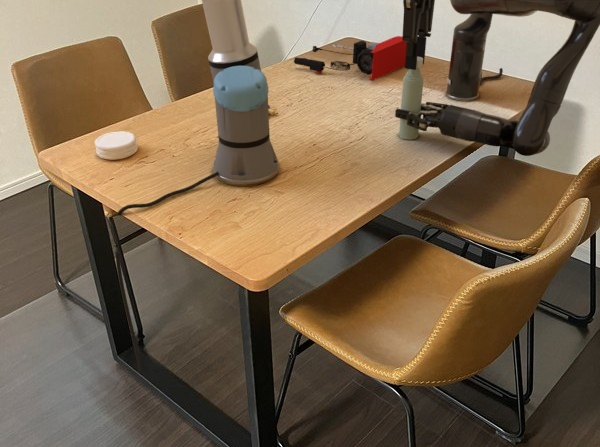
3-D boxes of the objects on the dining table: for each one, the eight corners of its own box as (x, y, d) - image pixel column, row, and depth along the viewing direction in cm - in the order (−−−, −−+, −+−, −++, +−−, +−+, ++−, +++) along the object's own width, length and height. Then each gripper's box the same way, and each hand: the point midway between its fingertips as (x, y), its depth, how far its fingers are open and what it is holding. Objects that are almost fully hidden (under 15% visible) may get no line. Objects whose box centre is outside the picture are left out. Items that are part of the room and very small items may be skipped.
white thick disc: (108, 164, 149) (105, 151, 148) (90, 151, 156) (87, 138, 154) (145, 152, 155) (143, 139, 153) (126, 139, 161) (123, 127, 159)
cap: (417, 62, 154) (418, 55, 153) (425, 67, 151) (426, 59, 150) (403, 64, 153) (404, 57, 152) (411, 68, 149) (411, 61, 149)
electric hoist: (292, 37, 203) (372, 52, 188) (336, 23, 221) (412, 36, 206) (292, 68, 208) (370, 85, 193) (335, 52, 226) (409, 66, 211)
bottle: (401, 140, 159) (407, 64, 149) (396, 132, 163) (402, 58, 153) (420, 139, 160) (427, 63, 149) (415, 131, 164) (422, 57, 153)
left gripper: (423, -44, 147) (415, 54, 159) (391, -32, 135) (384, 73, 148) (453, -41, 143) (442, 59, 156) (422, -29, 131) (413, 78, 144)
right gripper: (477, 100, 154) (415, 87, 162) (453, 119, 144) (388, 104, 152) (473, 128, 158) (412, 113, 166) (449, 148, 148) (386, 132, 156)
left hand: (414, 65), depth 152 cm, fingers closed on cap, 4 cm apart
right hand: (401, 109), depth 159 cm, fingers closed on bottle, 5 cm apart
